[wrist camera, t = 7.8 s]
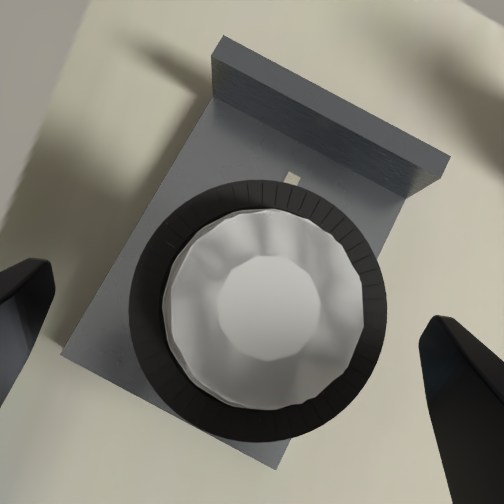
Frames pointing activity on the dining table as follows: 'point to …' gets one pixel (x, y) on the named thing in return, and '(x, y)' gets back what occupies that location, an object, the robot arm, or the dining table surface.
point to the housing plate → (260, 168)
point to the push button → (257, 311)
